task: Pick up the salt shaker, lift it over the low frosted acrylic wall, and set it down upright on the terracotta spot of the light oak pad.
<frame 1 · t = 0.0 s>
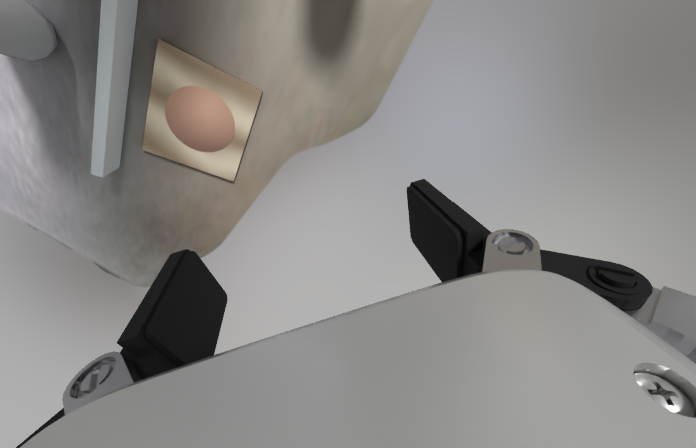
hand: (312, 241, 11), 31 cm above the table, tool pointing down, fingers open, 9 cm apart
acrylic wall: (122, 86, 31), on the table
salt shaker: (34, 29, 27), on the table
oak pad: (202, 120, 34), on the table
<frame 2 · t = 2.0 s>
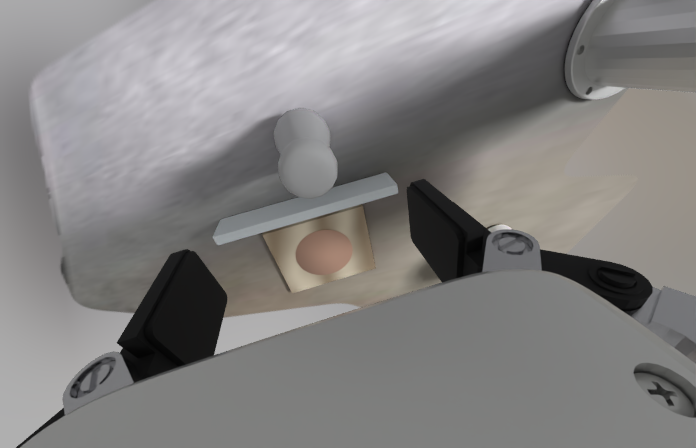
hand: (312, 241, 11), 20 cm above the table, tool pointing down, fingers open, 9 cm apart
acrylic wall: (306, 199, 32), on the table
salt shaker: (301, 132, 28), on the table
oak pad: (324, 250, 37), on the table
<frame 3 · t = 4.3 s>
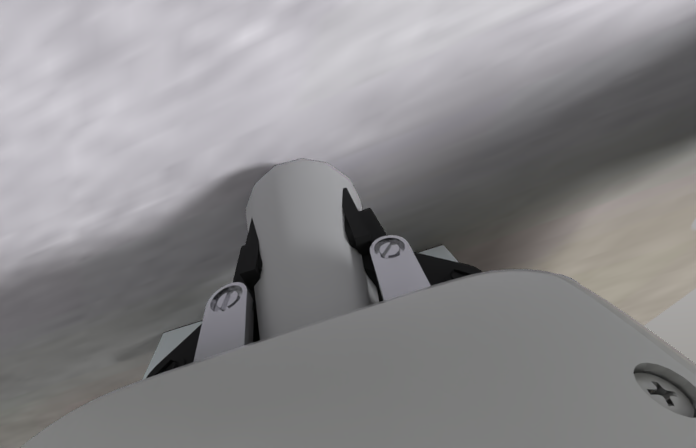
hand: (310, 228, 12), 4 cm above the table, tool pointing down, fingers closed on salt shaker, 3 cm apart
acrylic wall: (310, 292, 19), on the table
salt shaker: (303, 194, 15), on the table, touching gripper
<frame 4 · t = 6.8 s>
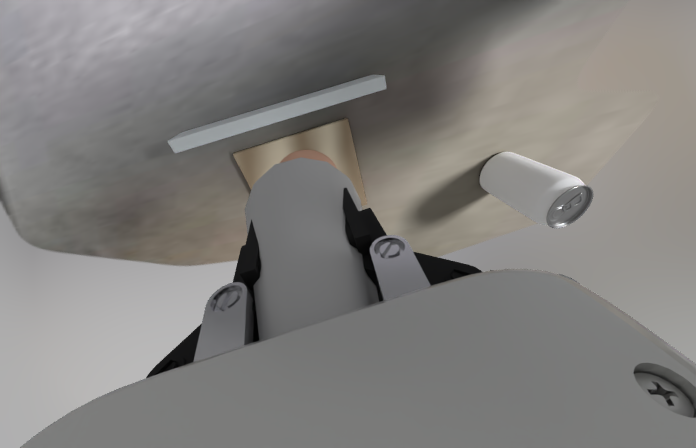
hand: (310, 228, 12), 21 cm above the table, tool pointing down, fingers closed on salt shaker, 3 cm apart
acrylic wall: (281, 108, 28), on the table
can: (496, 171, 39), on the table
salt shaker: (303, 193, 15), point 17 cm above the table, touching gripper
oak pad: (307, 180, 33), on the table
when the fingers open (5 cm above the table, at t = 9.5 s): salt shaker stays where it is, resting on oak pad.
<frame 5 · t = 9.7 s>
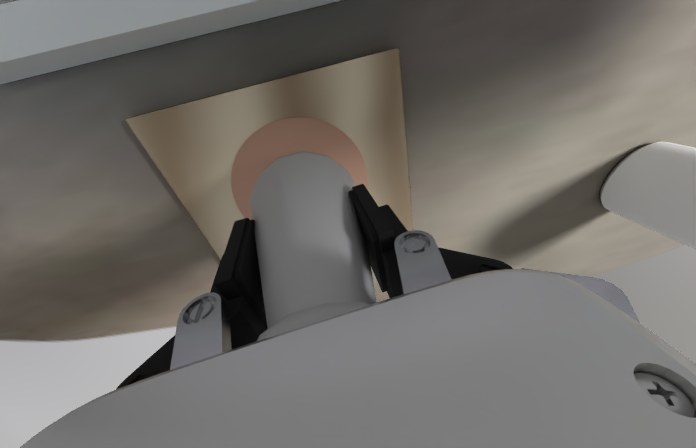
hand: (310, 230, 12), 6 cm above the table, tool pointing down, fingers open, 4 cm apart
acrylic wall: (241, 7, 11), on the table
can: (628, 176, 23), on the table
salt shaker: (304, 186, 16), point 1 cm above the table, touching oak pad
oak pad: (302, 184, 16), on the table
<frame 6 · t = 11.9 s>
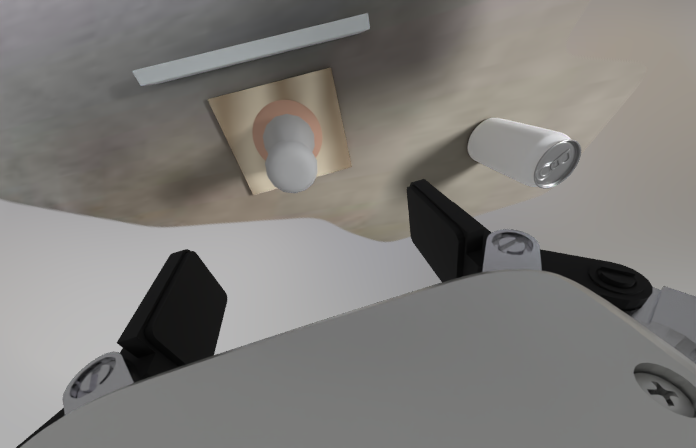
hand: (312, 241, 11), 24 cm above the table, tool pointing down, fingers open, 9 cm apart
acrylic wall: (259, 51, 26), on the table
can: (484, 139, 38), on the table
salt shaker: (289, 136, 31), point 1 cm above the table, touching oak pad
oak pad: (288, 136, 31), on the table
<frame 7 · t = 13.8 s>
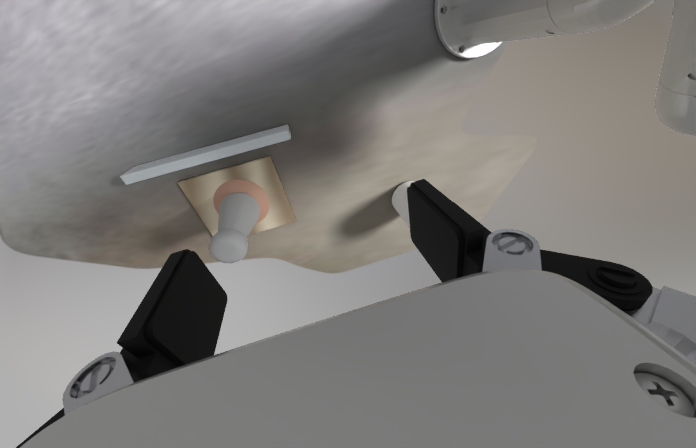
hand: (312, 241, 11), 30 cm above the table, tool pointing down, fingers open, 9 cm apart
acrylic wall: (215, 148, 36), on the table
can: (406, 195, 47), on the table
salt shaker: (242, 202, 40), point 1 cm above the table, touching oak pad
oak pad: (242, 202, 41), on the table
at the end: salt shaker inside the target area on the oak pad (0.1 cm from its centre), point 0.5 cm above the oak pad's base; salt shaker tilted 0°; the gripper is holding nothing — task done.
